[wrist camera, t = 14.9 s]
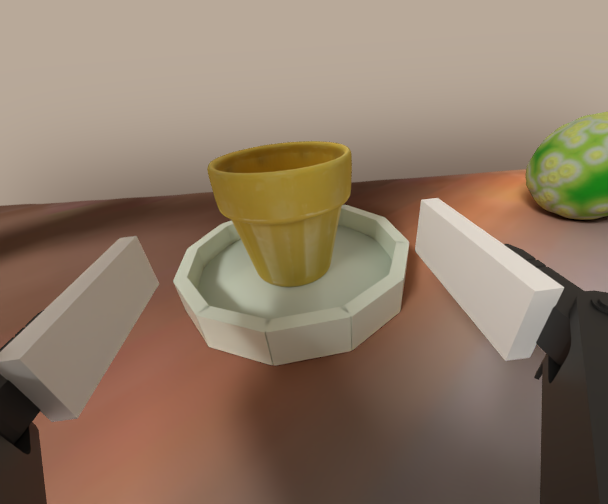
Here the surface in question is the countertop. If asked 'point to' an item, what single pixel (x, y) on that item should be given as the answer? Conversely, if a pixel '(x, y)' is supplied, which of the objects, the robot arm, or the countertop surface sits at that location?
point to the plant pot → (285, 205)
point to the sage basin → (295, 293)
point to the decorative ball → (573, 169)
